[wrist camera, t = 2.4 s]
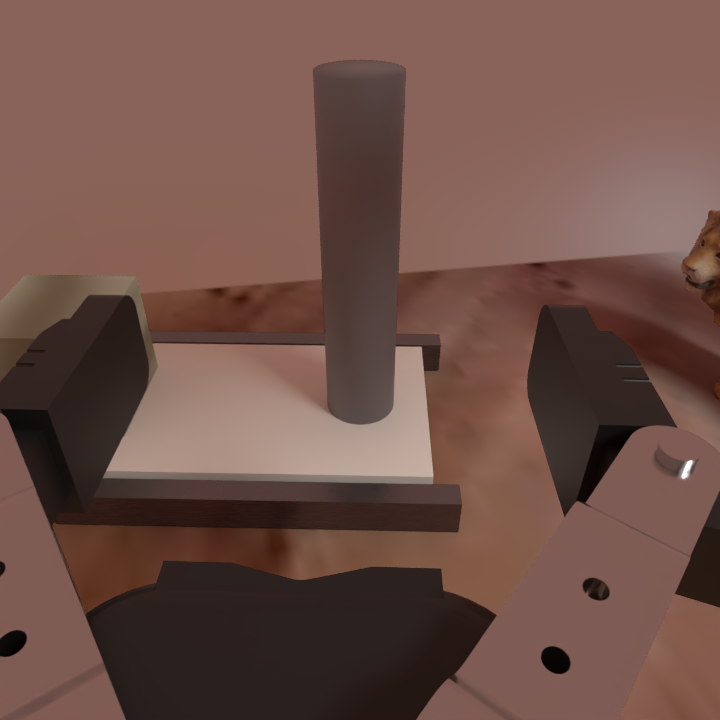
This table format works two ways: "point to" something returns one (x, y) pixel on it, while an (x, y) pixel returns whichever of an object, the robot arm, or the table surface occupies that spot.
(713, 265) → the lion figurine
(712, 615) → the table surface
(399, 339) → the guide rails
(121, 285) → the block
